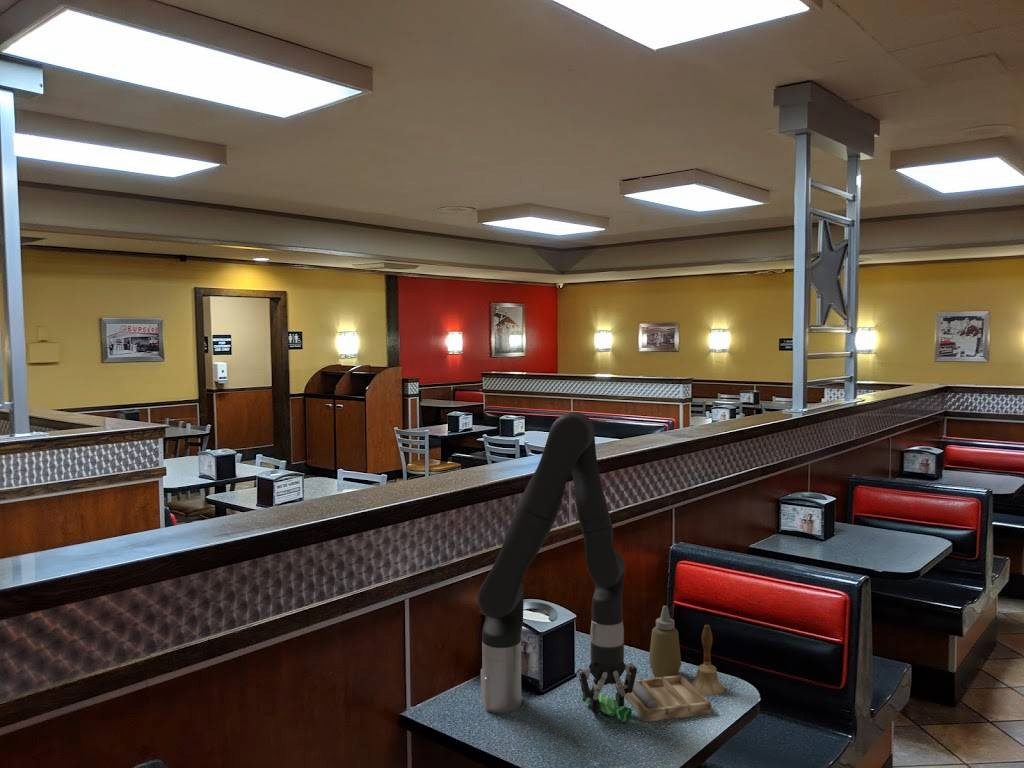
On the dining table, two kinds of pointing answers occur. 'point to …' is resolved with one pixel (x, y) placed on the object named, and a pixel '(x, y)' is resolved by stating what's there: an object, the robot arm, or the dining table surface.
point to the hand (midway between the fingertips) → (607, 711)
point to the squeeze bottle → (665, 647)
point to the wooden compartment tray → (669, 699)
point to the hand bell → (707, 669)
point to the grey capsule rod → (644, 696)
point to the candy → (611, 707)
